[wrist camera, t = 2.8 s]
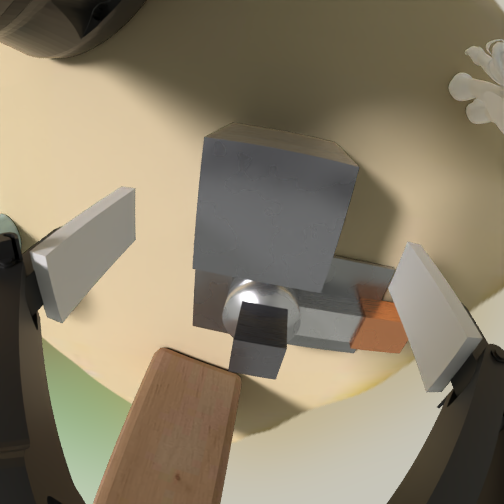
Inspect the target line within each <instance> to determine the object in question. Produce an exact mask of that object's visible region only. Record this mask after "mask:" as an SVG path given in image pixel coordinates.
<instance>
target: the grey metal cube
mask: <svg viewBox="0 0 504 504" xmlns="http://www.w3.org/2000/svg"><path fill="white" fill-rule="evenodd" d="M358 171H359V166H358V165H357V164H356V163H355V162H354V161H353V160H352V159H351V158H350V157H349V156H348V155H347V154H346V153H345V152H344V151H343V150H342V149H341V148H340V147H339V146H338V145H337V144H336V143H335V142H332V141H328V140H324V139H320V138H315V137H311V136H306V135H302V134H297V133H292V132H287V131H282V130H276V129H271V128H265V127H259V126H253V125H247V124H240V123H231V124H229V125H227V126H225V127H223V128H221V129H219V130H217V131H215V132H213V133H211V134H209V135H207V136H205V137H204V144H203V153H202V162H201V171H200V181H199V192H198V203H197V214H196V227H195V240H194V255H193V269H196V270H201V271H206V272H211V273H216V274H221V275H226V276H231V277H236V278H241V279H247V280H252V281H257V282H262V283H268V284H273V285H278V286H284V287H289V288H295V289H300V290H306V291H311V292H317V293H321V291H322V288H323V285H324V282H325V280H326V277H327V274H328V271H329V268H330V265H331V262H332V259H333V256H334V252H335V249H336V246H337V243H338V240H339V237H340V234H341V230H342V227H343V224H344V220H345V217H346V214H347V210H348V207H349V203H350V200H351V196H352V193H353V189H354V186H355V182H356V178H357V174H358Z"/></svg>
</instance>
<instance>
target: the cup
mask: <svg viewBox="0 0 504 504" xmlns="http://www.w3.org/2000/svg"><path fill="white" fill-rule="evenodd" d="M5 232H13V233H16V234H17V235H18V239H19V244H20V248H21V239H20V235H19V232H18V230H17V228H16V226H15V224H14V223H13V221H12V220H11V219H10V218H9V217H8V216H6V215H4V214H0V234H1V233H5Z"/></svg>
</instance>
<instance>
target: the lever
mask: <svg viewBox="0 0 504 504" xmlns="http://www.w3.org/2000/svg"><path fill="white" fill-rule="evenodd" d="M394 271H395V269H394V267H389V266H384V265H380V264H375V263H370V262H365V261H360V260H355V259H350V258H345V257H340V256H335V255H334V256H333V259H332V262H331V265H330V268H329V271H328V274H327V277H326V280H325V282H324V285H323V288H322V291H321V293H317V292H311V291H306V290H300V289H295V288H289V287H284V286H278V285H273V284H268V283H262V282H257V281H252V280H247V279H241V278H236V277H231V276H226V275H221V274H216V273H211V272H206V271H201V270H195V287H194V306H193V326H196V327H201V328H205V329H210V330H215V331H219V332H224V333H229V334H230V335H231V336H232V337H233V338H234V340H233V346H232V351H231V357H230V363H229V369H228V371H230V372H235V373H240V374H246V375H251V376H257V377H263V378H269V379H276V377H277V374H278V371H279V369H280V366H281V363H282V360H283V358H284V355H285V352H286V349H287V344H290V345H296V346H303V347H310V348H317V349H324V350H332V351H340V352H348V353H354V352H355V350H356V349H360V350H369V351H379V352H389V353H400V352H401V350H402V349H403V347H404V346H405V344H406V343H407V341H408V337H407V335H406V332H405V329H404V327H403V324H402V322H401V319H400V317H399V314H398V312H397V309H396V307H395V304H394V303H392V302H386V301H381V300H382V298H383V295H384V293H385V291H386V289H387V287H388V285H389V282H390V280H391V278H392V276H393V273H394Z"/></svg>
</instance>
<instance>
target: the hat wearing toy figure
mask: <svg viewBox="0 0 504 504" xmlns="http://www.w3.org/2000/svg"><path fill="white" fill-rule="evenodd" d="M500 40H501V41H503V42H497V43H496V44H494V45H493V47H492V54H491V52H490V51H489V47H490V45H491V44H492V43H493V42H496V41H500ZM486 50H487V51H488V52H489V53H490V54H491V55H492V57H493V58H492V57H491V56H489V55H488V54H486V53H485V52H484V50H483V49H482V48H481V47H476V46H471V47H470V48H468V49H467V50H465V55H469V56H470V58H471V59H472V61H473V62H474V64H476V65H478V66H481V67H482V69H483V70H484V71H485V72H486V73H487V74H488V75H489V76H490V78H491V79H493V80H494V81H495V82H496V83H498V84H500V86H498V85H495V84H492V83H490V82H487V81H483V80H479V79H473V78H472V77H471V76H470V75H469V74H467V73H458V74H456V75H455V76H454V77H453V79H452V80H451V82H450V84H449V87H448V88H449V92H450V94H451V95H452V97H453V98H454V99H456V100H458V101H466V100H470V99H474V98H476V99H474V101H473V103H470V104H468V106H467V107H466V114H467V117H468V119H469V120H470V121H471V122H472V123H474V124H484V123H489V122H493V123H495V124H496V125H497V127H498V128H499V129H500V131H501V132H502V133H503V134H504V40H502V39H496V40H492V41H490V42H488V43H487V44H486Z"/></svg>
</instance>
